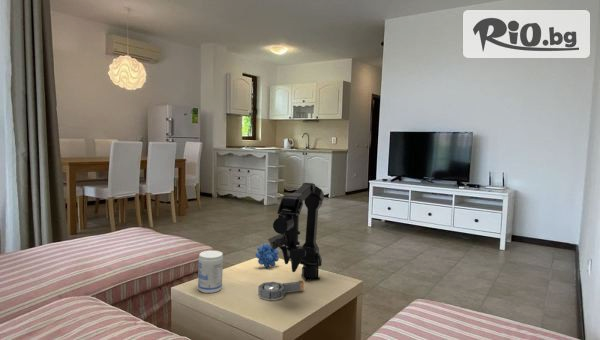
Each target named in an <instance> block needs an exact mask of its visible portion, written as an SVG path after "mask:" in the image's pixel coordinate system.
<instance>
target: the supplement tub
mask: <svg viewBox="0 0 600 340" xmlns="http://www.w3.org/2000/svg"><path fill="white" fill-rule="evenodd" d="M198 255H199V256H198V267H197V268H198V271H197V272H198V273H197V274H198V275H197V276H198V279H197V289H198V290H199V292H200V293H206V294H211V293H212V294H213V293H216V292H219V291H220V290H222V289H223V270H224V269H223V266H224V265H223V264H224V254H223V251H219V250H204V251H202V252H200V253H199V254H198Z"/></svg>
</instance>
